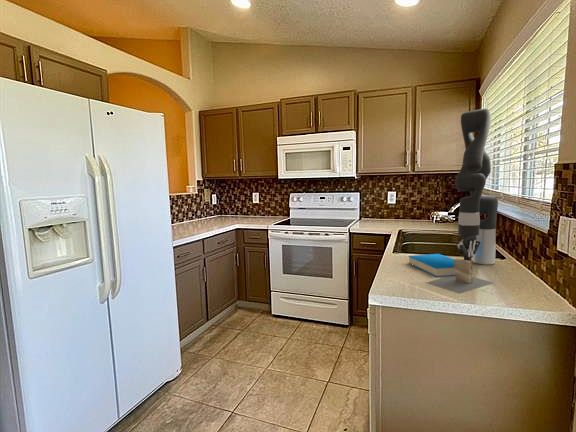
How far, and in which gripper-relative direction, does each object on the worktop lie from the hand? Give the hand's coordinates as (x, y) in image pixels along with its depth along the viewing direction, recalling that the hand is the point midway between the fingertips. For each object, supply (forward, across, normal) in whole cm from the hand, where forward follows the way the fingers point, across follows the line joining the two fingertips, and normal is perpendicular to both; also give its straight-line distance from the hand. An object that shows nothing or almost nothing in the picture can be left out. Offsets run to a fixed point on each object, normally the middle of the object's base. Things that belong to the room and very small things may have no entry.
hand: (467, 265), depth 134 cm
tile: (+6, +2, 0) cm, 7 cm away
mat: (+7, +4, 0) cm, 8 cm away
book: (+7, -6, -19) cm, 21 cm away
